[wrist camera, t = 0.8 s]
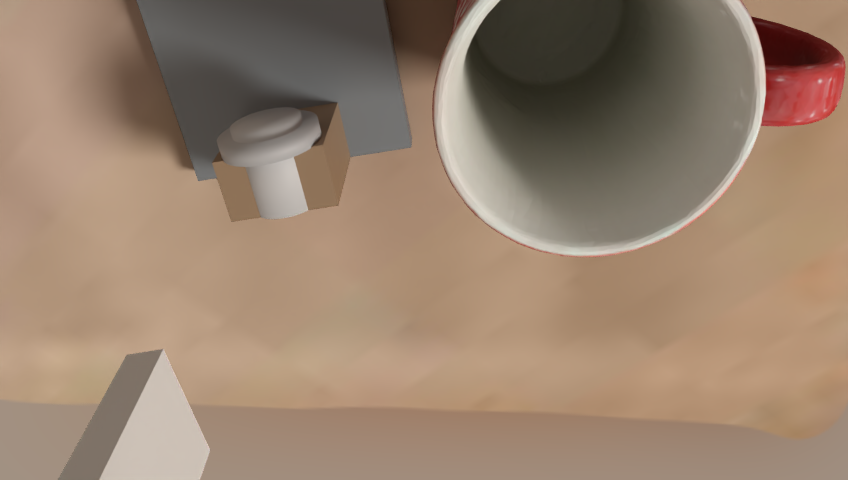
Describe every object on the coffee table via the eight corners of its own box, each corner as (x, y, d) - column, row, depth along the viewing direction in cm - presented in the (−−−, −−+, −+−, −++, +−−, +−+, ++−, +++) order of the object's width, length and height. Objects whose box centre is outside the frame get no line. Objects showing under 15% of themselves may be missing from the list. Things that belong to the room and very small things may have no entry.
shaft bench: (103, -128, 30) (18, -114, 24) (350, -177, 29) (328, -176, 23) (203, 172, 36) (157, 243, 30) (411, 139, 36) (406, 206, 29)
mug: (428, 105, 35) (424, 253, 23) (439, -116, 30) (442, -73, 19) (706, 119, 35) (845, 273, 23) (757, -99, 31) (961, -46, 19)
